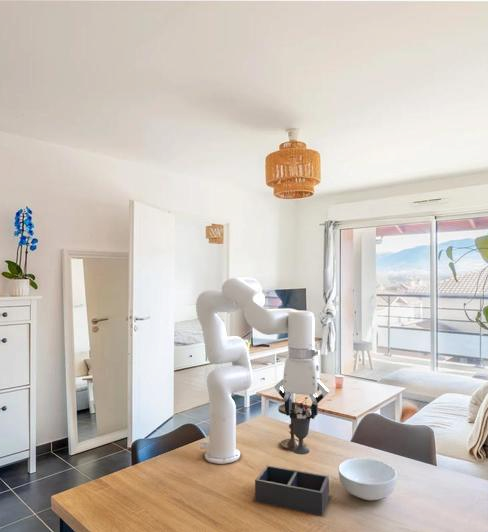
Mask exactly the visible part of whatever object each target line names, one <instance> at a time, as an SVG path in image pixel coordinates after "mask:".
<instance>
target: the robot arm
mask: <svg viewBox="0 0 488 532" xmlns="http://www.w3.org/2000/svg"><path fill="white" fill-rule="evenodd" d="M265 300H266V299H265V294H264V293H263V291H262V286H261V284H260V282H259V281H258V280H257V279H255V278H252V277H231V278H228V279H227V280H225V281H224V282H223V284H222V286H221V289H209V290H208V289H207V290H204V291H202V292H201V293H200V294H198V296H197V298H196V303H195V310H196V317H197V318H198V321H199V323H200V326H201V331H202V336H203V342H204V348H205V354H206V358H207V360H208V362H209V363H210V364H212V365H222V364H228V363H231V365H228V366H221V367H217V368H214V369H212V370H211V371H210V372H209V373H208V375H207V377H206V386H207V391H208V403H209V417H208V418H209V430H208V431H209V433H208V435H209V436H208V437H209V440H208V441H207V440H201V441H200V442H199V443H200V445H199V448H200V449H202V450H205V453H204V458H205V460H206V461H207V462H209V463H212V464H215V465H216V464H217V465H224V464H225V465H226V464H231V463H234V462H236V461H238V460H239V459H240V458H241V451H240V450H239V449H238V448H237V406H236V403H235V400H234V399H233V397H232V394H235V393H239V392H242V391H246V390H249V389H250V388H251V386H252V385H253V381H254V379H253V378H254V377H253V375H254V374H253V370H252V365H251V360H250V359H251V358H250V355H249V350H248V349H249V348H248V346H247V343H246V341H245V340H244V339H243V338H242V337H241V336H237V335H232V336H231V335H230V336H228V335H227V331H226V325H225V323H224V322H223V320H222V318H221V317H220V316H219V315H218V313H231V312H232V313H233V312H238V311H240V310H242V311H243V315H244V318H245V321H246V323H247V324H248V325H249V326H250V327H251V328H252V329H254V330H256V331H257V332H259V333H261V334H263V335H266V336H273V335H281V334H287V356H285V361H284V367H283V377H282V379H281V380H279V382H277V383H276V384H275V385H274V389H275V390H276V392H277V393H278V395H279V396H280V397H281V398H282V399H283V401H284V404H285V411H286V416H287V417H290V413H291V411H290V410H291V409H292V400H291V399H290V396H291V394H292V393H295V395H296V394H297V395H306V396H309V398H310V400H311V402H312V403H311V405H310V413H311V418H310V419H311V420H314V419H315V418H316V417H317V416H318V414H319V403H320V402H321V401H322V400H323V399H324V398H325V397H326V396H327V395H328V394H329V392H330V390H329V389H328V388H327V387H326V386H325V385H324V384H323V383H322V382H321V379H320V369H319V361H318V358H317V357H316V356H320V350H317V349H316V348H315V316H314V313H313V312H312V311H311V310H298V309H295V308H290V307H289V308H287V307H285V308H269V309H268V308H265V307H264V305H265V302H266V301H265ZM319 391H321V393H320V394H319V395H318V394H317V393H318V392H319Z"/></svg>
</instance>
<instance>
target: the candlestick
mask: <svg viewBox="0 0 488 532" xmlns="http://www.w3.org/2000/svg"><path fill="white" fill-rule="evenodd" d="M290 399H291V400H292V410H293V412H294V409H295V407H296V406H298V405H299V404H300V403H298V400H297V399H296V393H292V394H291V396H290ZM277 408H278V412H279V413H280V414H282V415H286V411H285V403H283V404H280V405H279V406H278V407H277ZM286 416H287V415H286ZM288 428H289V429H290V431H288V432H289V434H290V438H287V439H282V440H281V442H280V448H282V449H283V450H285V451H288V452H289V451H290V452H293V451H292V449H293V448H295V447H298V446H299V439H298V438H295V434H294V430H293V422H292V419H291V418H290V423H289V425H288ZM303 446H304V447H305V442H304V441H303Z"/></svg>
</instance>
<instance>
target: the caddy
mask: <svg viewBox="0 0 488 532" xmlns="http://www.w3.org/2000/svg"><path fill="white" fill-rule="evenodd" d="M329 497H330V476H329V475H325V474H319V473H313V472H307V471H302V470H297V469H292V468H287V467H286V468H285V467H281V466H280V467H279V466H273V465H268V464H266V465H265V466H264V468H263V469H262V470H261V472H260V473H259V475H258V476H257V477H256V479H254V502H256V503H261V504H265V505H270V506H275V507H279V508H284V509H289V510H293V511H299V512H302V513H303V512H304V513H307V514H311V515H312V514H313V515H317V516H322V517H323V515H324V511H325V509H326V507H327V504H328V501H329Z"/></svg>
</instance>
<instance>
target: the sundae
mask: <svg viewBox="0 0 488 532" xmlns="http://www.w3.org/2000/svg"><path fill="white" fill-rule="evenodd" d="M307 399H308V397H307V396H306V397H305V398H304V400H303V401H302V402H299V403H298V404H299V405H298V406H296V407H295V409H294V412H293V410H292V409H291V410H290V411H291V413H290V415H289V418H290V420H291V419H292V422H293V430H294V437H295V438H296V439H297V440H299V446H298V447H295V448H293V449H292V451H291V452H293V453H294V454H296V455H301V456H303V455H308V454H309V453H310V449H309V448H308V447H305V445H304V446H303V442H304V439H305V438H307V436H309V430H310V423H311V419H312V418H311V410H310V409H308V408H309V406H308V404H307V401H306V400H307ZM304 403H305V404H304Z"/></svg>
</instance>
